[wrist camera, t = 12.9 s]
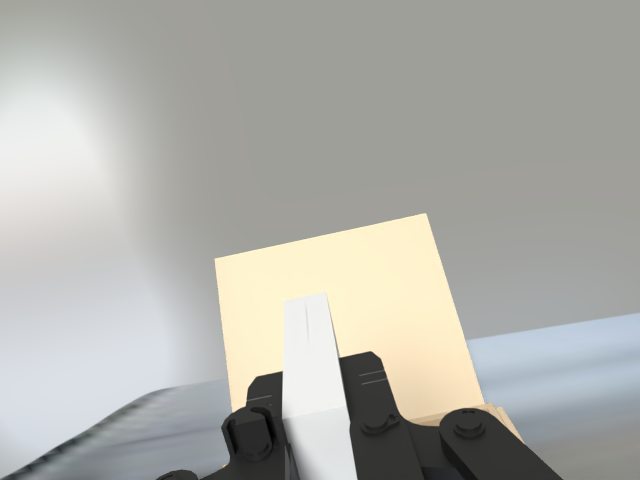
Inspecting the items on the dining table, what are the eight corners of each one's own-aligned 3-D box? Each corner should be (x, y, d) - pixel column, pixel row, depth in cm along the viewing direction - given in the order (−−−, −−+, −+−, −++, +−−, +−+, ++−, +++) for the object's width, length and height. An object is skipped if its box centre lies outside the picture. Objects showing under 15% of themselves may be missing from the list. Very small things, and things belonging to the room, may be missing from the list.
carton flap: (214, 258, 49) (216, 261, 50) (237, 455, 42) (239, 455, 43) (426, 213, 49) (425, 215, 49) (484, 403, 42) (483, 404, 42)
